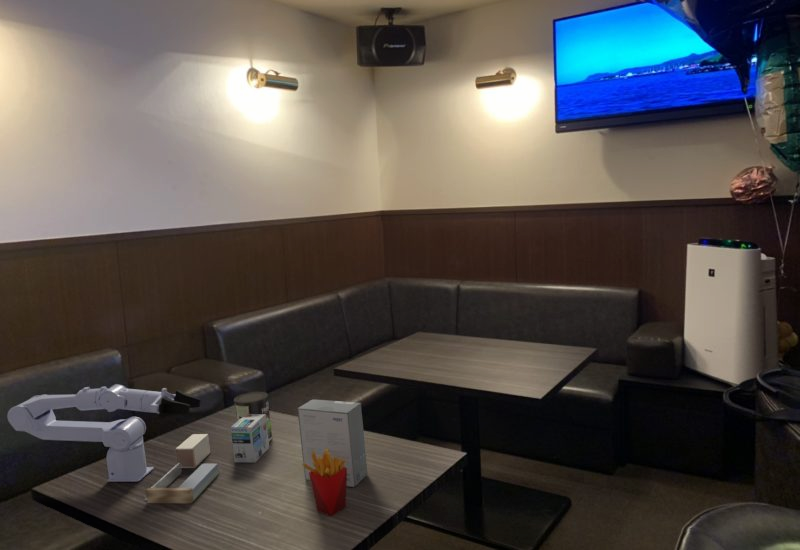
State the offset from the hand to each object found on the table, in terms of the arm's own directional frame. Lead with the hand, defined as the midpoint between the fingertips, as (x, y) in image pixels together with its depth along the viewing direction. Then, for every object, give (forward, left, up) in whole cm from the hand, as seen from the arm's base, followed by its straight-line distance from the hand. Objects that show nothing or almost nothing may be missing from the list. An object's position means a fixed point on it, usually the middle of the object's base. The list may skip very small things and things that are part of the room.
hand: (194, 406), depth 164 cm
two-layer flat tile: (+3, -8, -19) cm, 21 cm away
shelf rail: (-1, -16, -19) cm, 25 cm away
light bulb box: (+10, +11, -20) cm, 25 cm away
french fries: (+42, -20, -20) cm, 50 cm away
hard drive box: (+39, -3, -20) cm, 44 cm away
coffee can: (+7, +22, -20) cm, 30 cm away
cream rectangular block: (-6, +8, -20) cm, 22 cm away
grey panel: (-7, -8, -19) cm, 22 cm away
